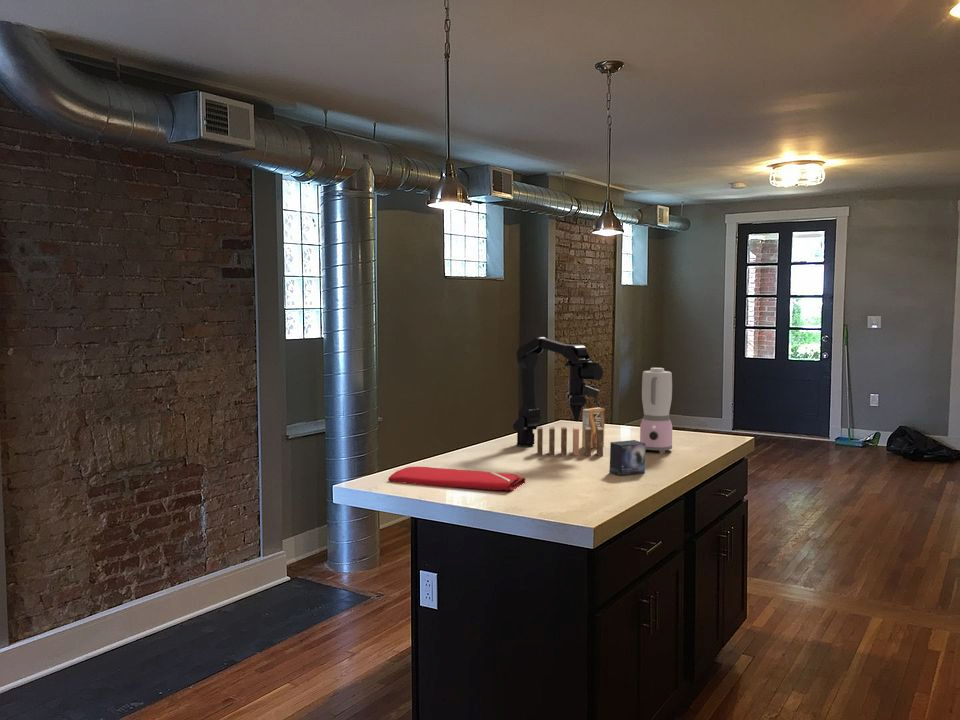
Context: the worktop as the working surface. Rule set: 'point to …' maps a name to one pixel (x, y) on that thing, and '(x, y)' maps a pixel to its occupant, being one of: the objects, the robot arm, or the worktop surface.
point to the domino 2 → (551, 440)
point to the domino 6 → (599, 441)
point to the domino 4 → (575, 441)
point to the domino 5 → (587, 441)
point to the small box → (627, 457)
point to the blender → (656, 410)
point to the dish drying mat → (458, 478)
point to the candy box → (593, 424)
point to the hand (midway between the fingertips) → (576, 420)
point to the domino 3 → (563, 440)
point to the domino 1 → (539, 440)
